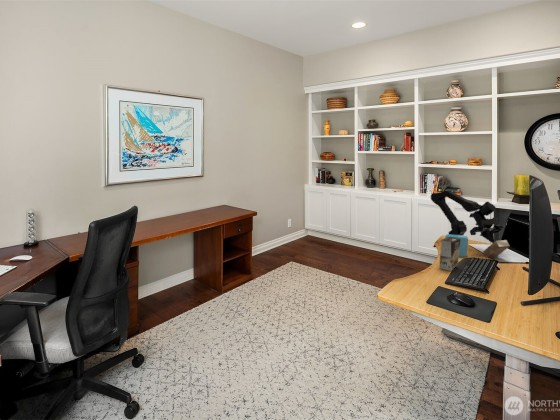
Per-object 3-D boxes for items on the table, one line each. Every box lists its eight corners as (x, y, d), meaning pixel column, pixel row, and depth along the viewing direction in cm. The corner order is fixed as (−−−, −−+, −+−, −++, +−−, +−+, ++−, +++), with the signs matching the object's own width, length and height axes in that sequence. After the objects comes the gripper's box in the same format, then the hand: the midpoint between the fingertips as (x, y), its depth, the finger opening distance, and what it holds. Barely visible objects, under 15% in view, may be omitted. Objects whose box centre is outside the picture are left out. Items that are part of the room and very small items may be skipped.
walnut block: (482, 251, 201) (495, 240, 192) (493, 250, 202) (506, 239, 193) (486, 257, 199) (499, 246, 189) (496, 256, 200) (510, 245, 190)
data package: (466, 255, 204) (468, 235, 201) (466, 257, 200) (468, 238, 197) (443, 252, 209) (445, 233, 206) (443, 254, 205) (445, 235, 202)
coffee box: (451, 271, 180) (453, 242, 176) (438, 268, 184) (441, 239, 181) (458, 267, 186) (460, 238, 182) (446, 263, 190) (448, 236, 187)
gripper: (475, 213, 198) (487, 236, 190) (502, 211, 201) (516, 234, 193) (464, 223, 207) (476, 246, 199) (491, 221, 210) (503, 243, 202)
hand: (493, 242), depth 198 cm, fingers closed
